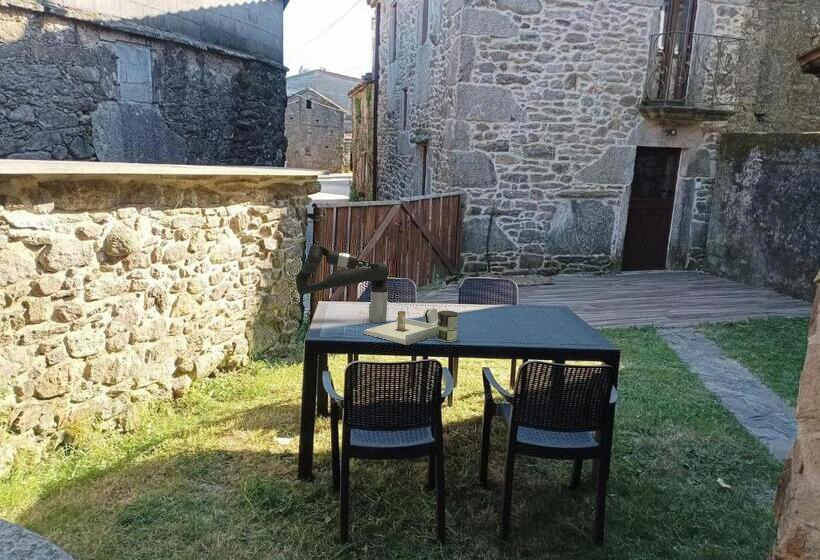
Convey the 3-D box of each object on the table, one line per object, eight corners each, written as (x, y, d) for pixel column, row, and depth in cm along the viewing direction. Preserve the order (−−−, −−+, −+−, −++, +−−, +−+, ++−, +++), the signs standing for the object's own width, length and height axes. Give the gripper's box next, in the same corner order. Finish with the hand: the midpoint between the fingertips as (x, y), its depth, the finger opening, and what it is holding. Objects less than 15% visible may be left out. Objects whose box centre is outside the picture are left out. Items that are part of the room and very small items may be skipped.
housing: (364, 334, 328) (364, 325, 327) (397, 325, 350) (398, 316, 350) (407, 345, 312) (407, 335, 311) (439, 334, 334) (439, 325, 333)
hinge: (434, 328, 347) (429, 311, 347) (426, 330, 349) (421, 312, 348) (443, 322, 363) (438, 305, 362) (435, 323, 364) (430, 307, 364)
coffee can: (436, 341, 320) (438, 314, 318) (436, 336, 330) (437, 310, 328) (457, 342, 320) (458, 315, 318) (456, 337, 330) (457, 311, 328)
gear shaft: (395, 334, 331) (396, 312, 329) (400, 332, 335) (400, 310, 332) (401, 335, 329) (402, 313, 327) (406, 334, 332) (407, 311, 330)
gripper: (345, 268, 330) (376, 274, 331) (345, 267, 316) (377, 274, 317) (348, 254, 330) (379, 260, 332) (348, 252, 316) (380, 259, 318)
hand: (378, 267), depth 324 cm, fingers open, 8 cm apart
